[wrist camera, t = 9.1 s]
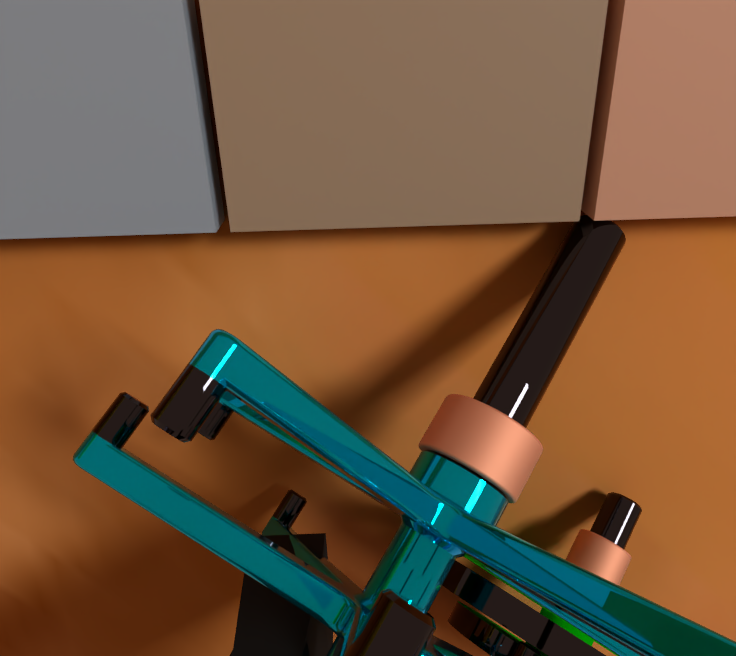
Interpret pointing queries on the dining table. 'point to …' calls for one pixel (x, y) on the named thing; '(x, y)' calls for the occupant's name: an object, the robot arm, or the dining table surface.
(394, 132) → the track tiles
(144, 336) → the dining table surface
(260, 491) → the dining table surface
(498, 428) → the stick construction toy
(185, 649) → the dining table surface
